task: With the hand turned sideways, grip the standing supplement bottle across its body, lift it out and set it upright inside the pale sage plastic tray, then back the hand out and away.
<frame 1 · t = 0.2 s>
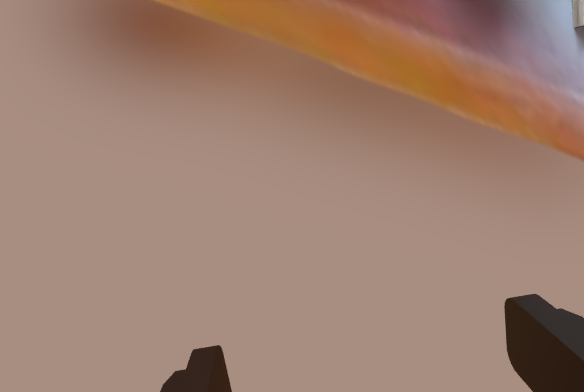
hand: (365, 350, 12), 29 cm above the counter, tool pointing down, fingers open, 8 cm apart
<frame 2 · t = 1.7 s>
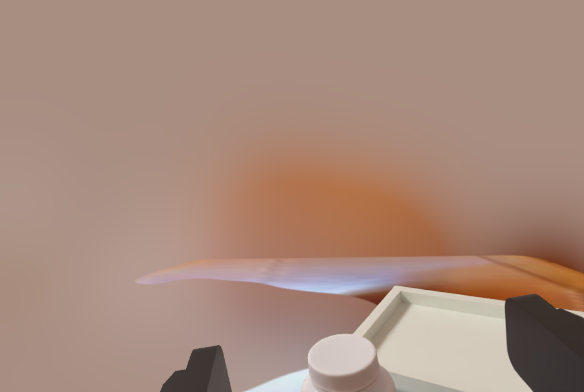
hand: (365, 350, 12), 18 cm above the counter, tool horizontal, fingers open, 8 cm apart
tray: (463, 356, 38), on the counter
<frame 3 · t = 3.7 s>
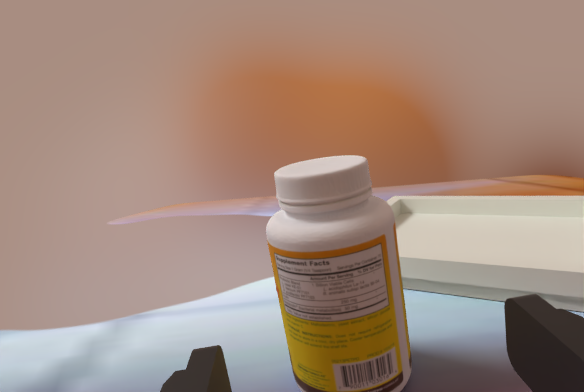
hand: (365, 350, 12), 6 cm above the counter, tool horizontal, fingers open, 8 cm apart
tray: (476, 251, 32), on the counter
supplement bottle: (353, 379, 20), on the counter
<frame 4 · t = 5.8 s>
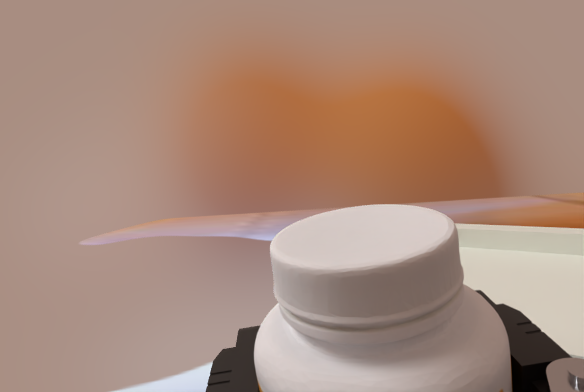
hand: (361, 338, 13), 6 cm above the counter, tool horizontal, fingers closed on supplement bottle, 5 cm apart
tray: (554, 311, 23), on the counter
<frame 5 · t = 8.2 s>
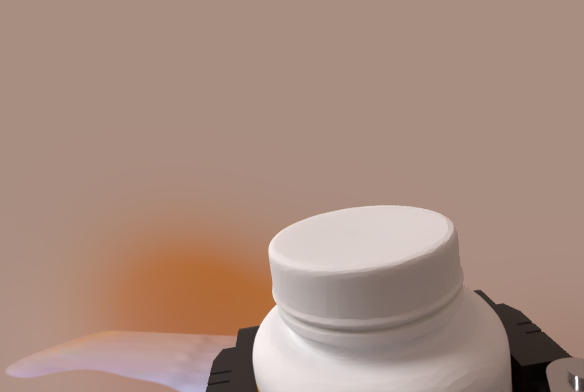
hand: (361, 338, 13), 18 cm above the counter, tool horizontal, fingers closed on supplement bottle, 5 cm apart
when the fingers open (8 cm above the counter, at t = 11.0 s): supplement bottle drops 1 cm, resting on tray.
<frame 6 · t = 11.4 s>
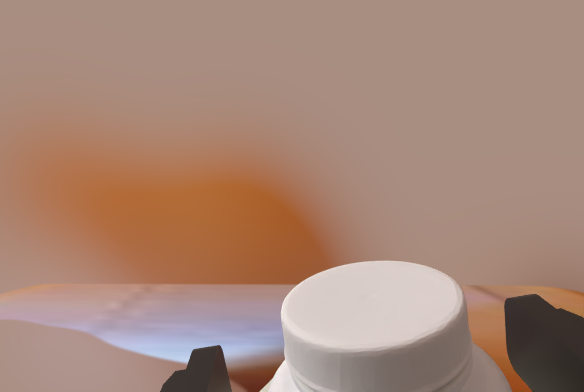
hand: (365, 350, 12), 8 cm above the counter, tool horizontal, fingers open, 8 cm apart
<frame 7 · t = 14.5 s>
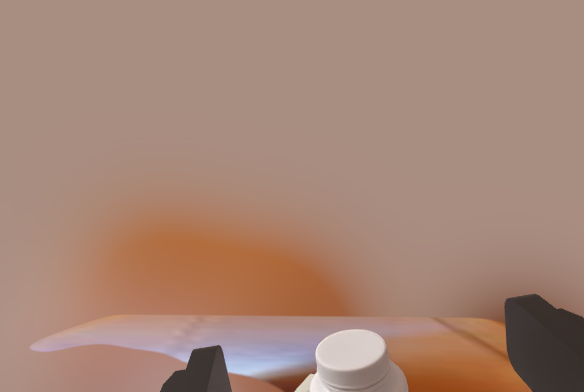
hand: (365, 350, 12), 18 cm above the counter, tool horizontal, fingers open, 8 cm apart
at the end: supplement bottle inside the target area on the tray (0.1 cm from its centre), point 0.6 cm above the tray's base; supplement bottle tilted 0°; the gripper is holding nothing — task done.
